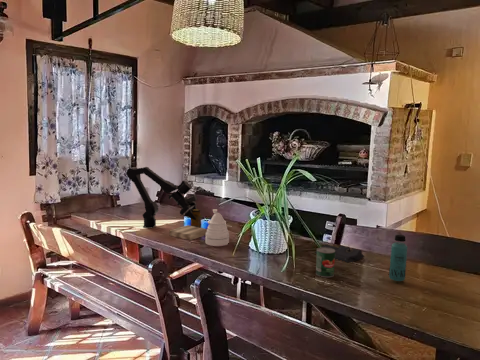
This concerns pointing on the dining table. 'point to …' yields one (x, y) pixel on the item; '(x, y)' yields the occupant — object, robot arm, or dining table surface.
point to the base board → (188, 232)
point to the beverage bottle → (398, 259)
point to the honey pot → (217, 231)
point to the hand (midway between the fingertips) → (197, 217)
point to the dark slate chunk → (346, 253)
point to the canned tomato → (325, 262)
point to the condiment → (198, 218)
